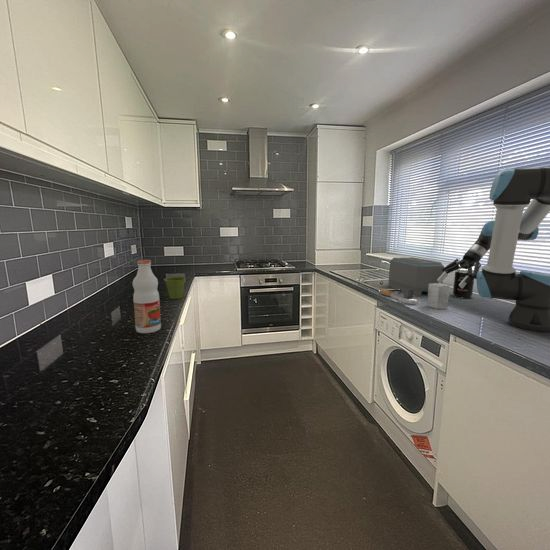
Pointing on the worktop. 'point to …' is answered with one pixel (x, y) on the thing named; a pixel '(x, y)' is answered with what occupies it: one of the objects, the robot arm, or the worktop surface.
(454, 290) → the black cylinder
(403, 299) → the ratchet
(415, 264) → the toaster
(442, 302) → the socket
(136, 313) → the fruit juice
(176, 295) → the plant pot
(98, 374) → the worktop surface
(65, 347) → the worktop surface
